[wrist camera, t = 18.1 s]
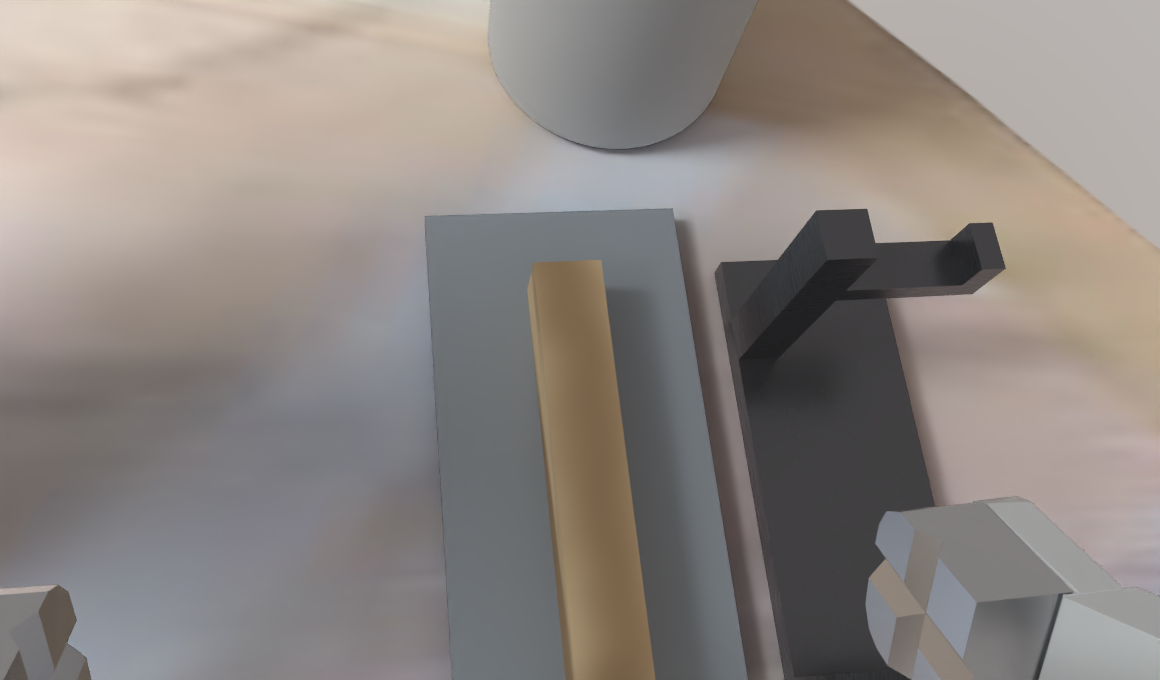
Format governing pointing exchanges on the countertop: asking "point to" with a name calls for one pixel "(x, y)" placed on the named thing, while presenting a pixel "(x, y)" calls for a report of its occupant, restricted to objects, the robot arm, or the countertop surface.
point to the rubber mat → (515, 453)
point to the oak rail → (587, 476)
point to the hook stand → (833, 419)
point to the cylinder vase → (614, 63)
